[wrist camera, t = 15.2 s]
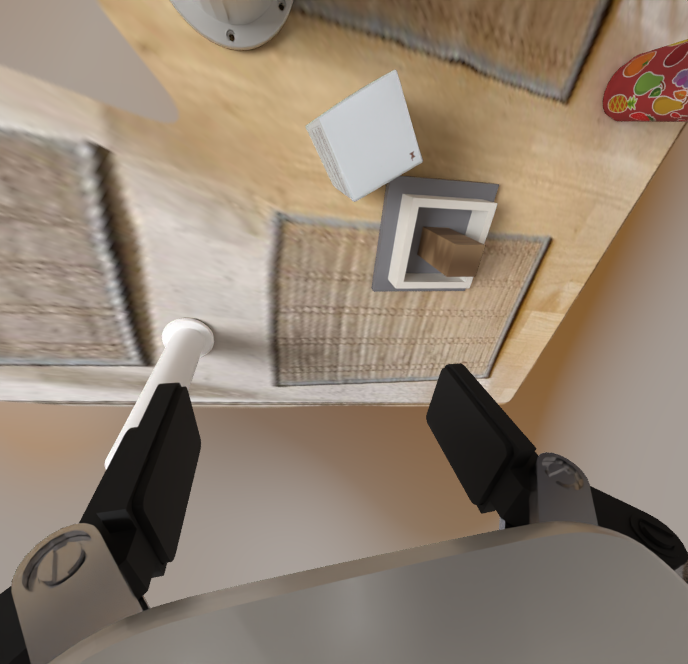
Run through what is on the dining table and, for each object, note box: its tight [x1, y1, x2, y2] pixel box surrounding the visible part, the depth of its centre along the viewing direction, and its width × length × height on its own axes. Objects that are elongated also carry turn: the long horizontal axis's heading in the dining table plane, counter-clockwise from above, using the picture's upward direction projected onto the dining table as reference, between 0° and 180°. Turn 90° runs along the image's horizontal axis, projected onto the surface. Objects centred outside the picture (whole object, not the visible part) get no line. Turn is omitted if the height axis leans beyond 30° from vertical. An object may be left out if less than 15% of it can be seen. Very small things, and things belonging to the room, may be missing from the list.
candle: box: [105, 318, 214, 470], centre depth 34 cm, size 7×7×25 cm
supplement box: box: [306, 70, 423, 202], centre depth 30 cm, size 7×7×13 cm
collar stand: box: [372, 176, 499, 291], centre depth 42 cm, size 16×16×5 cm
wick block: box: [417, 227, 486, 277], centre depth 39 cm, size 4×4×9 cm
